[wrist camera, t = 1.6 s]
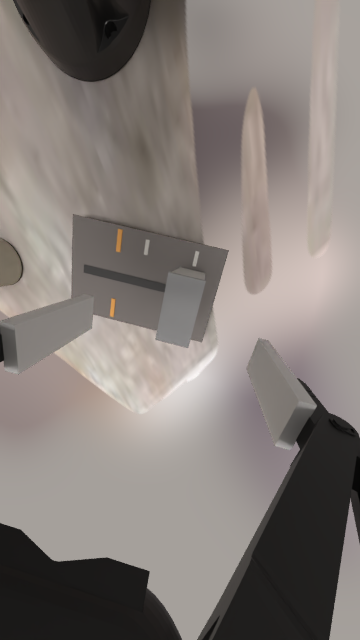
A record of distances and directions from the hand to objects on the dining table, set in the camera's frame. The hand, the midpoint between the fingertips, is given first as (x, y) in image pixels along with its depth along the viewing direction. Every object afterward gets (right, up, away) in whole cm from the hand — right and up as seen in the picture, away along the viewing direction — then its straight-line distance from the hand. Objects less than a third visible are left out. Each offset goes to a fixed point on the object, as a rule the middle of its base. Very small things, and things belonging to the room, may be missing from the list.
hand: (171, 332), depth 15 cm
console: (-5, +8, +16) cm, 18 cm away
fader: (+2, +5, +13) cm, 14 cm away
